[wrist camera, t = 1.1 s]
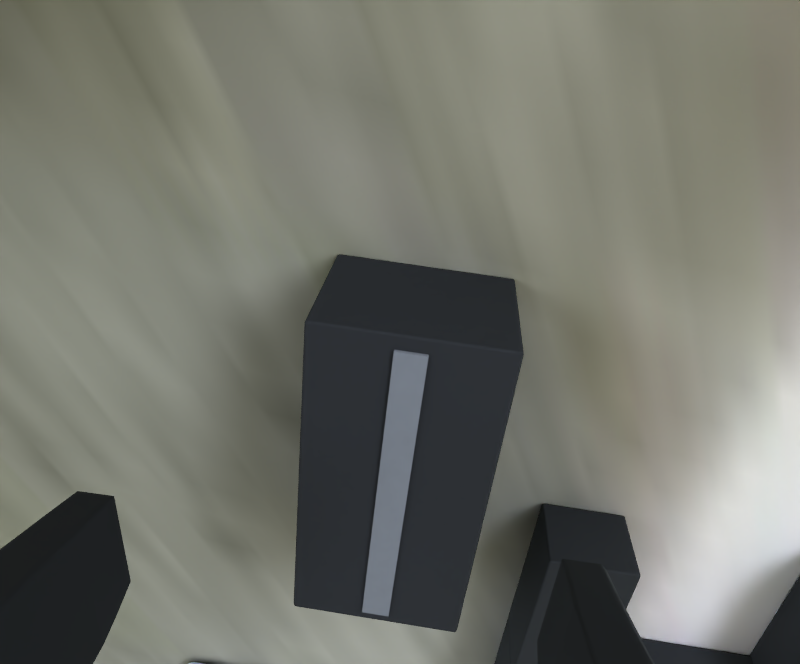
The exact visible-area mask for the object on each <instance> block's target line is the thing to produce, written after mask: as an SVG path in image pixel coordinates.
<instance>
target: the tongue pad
mask: <svg viewBox="0 0 800 664" xmlns="http://www.w3.org/2000/svg"><path fill="white" fill-rule="evenodd" d="M523 355H524V353H523V345H522V337H521V328H520V320H519V312H518V304H517V296H516V287H515V281H514V280H513V279H508V278H501V277H494V276H487V275H480V274H473V273H466V272H459V271H452V270H445V269H438V268H431V267H424V266H417V265H410V264H403V263H396V262H389V261H382V260H375V259H368V258H361V257H354V256H347V255H337V257H336V259H335V261H334V263H333V265H332V268H331V270H330V272H329V274H328V276H327V278H326V280H325V282H324V284H323V286H322V288H321V290H320V292H319V294H318V296H317V298H316V300H315V302H314V304H313V306H312V308H311V310H310V312H309V314H308V317H307V319H306V321H305V329H304V355H303V381H302V406H301V432H300V458H299V484H298V510H297V536H296V561H295V587H294V605H295V606H298V607H305V608H311V609H317V610H323V611H329V612H335V613H341V614H347V615H353V616H360V617H366V618H372V619H378V620H384V621H390V622H396V623H402V624H408V625H414V626H421V627H427V628H433V629H439V630H445V631H451V632H456V630H457V627H458V623H459V619H460V615H461V611H462V607H463V603H464V598H465V594H466V590H467V586H468V582H469V578H470V574H471V570H472V565H473V561H474V557H475V553H476V549H477V545H478V541H479V537H480V532H481V528H482V524H483V520H484V516H485V512H486V508H487V504H488V499H489V495H490V491H491V487H492V483H493V479H494V475H495V471H496V466H497V462H498V458H499V454H500V450H501V446H502V442H503V438H504V433H505V429H506V425H507V421H508V417H509V413H510V409H511V405H512V400H513V396H514V392H515V388H516V384H517V380H518V376H519V372H520V367H521V363H522V359H523Z"/></svg>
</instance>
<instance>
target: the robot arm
mask: <svg viewBox="0 0 800 664" xmlns="http://www.w3.org/2000/svg"><path fill="white" fill-rule="evenodd" d="M129 584H130V576H129V570H128V565H127V560H126V555H125V550H124V545H123V540H122V535H121V530H120V525H119V520H118V515H117V509H116V504H115V499H114V496H109V495H101V494H94V493H87V492H80V491H77V492H76V493H75V494H73V495H72V496H71V497H69V498H68V499H66V500H65V501H64V502H62V503H61V504H60V505H58V506H57V507H56V508H54V509H53V510H52V511H50V512H49V513H48V514H46V515H45V516H44V517H42V518H41V519H40V520H38V521H37V522H36V523H34V524H33V525H32V526H31V527H29V528H28V529H27V530H25V531H24V532H23V533H21V534H20V535H19V536H17V537H16V538H15V539H13V540H12V541H11V542H9V543H8V544H7V545H6V546H4V547H3V548H2V549H0V664H93V662H94V661H95V659H96V657H97V655H98V653H99V652H100V650H101V648H102V646H103V644H104V642H105V640H106V638H107V635H108V633H109V631H110V629H111V626H112V624H113V622H114V620H115V618H116V615H117V613H118V610H119V608H120V606H121V603H122V601H123V598H124V596H125V594H126V591H127V589H128V586H129ZM537 656H538V664H655V663H654V662H653V660H652V658H651V656H650V654H649V652H648V651H647V649H646V647H645V645H644V643H643V641H642V639H641V637H640V636H639V634H638V632H637V630H636V628H635V626H634V624H633V622H632V620H631V618H630V617H629V615H628V613H627V611H626V609H625V607H624V605H623V603H622V601H621V599H620V597H619V595H618V593H617V591H616V589H615V587H614V585H613V583H612V581H611V578H610V576H609V574H608V572H607V570H606V569H605V568H604V567H603V565H602V564H597V563H589V562H582V561H575V560H568V559H562V560H561V563H560V567H559V570H558V573H557V577H556V580H555V583H554V587H553V590H552V593H551V597H550V600H549V603H548V606H547V610H546V613H545V616H544V620H543V623H542V626H541V630H540V633H539V636H538V640H537ZM188 664H204V663H198V662H191V663H188Z"/></svg>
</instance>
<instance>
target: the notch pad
mask: <svg viewBox="0 0 800 664" xmlns="http://www.w3.org/2000/svg"><path fill="white" fill-rule="evenodd" d="M562 559H568V560H575V561H582V562H589V563H597V564H602V565H603V567H604V568H605V569H606V570H607V572H608V574H609V576H610V578H611V581H612V583H613V585H614V587H615V589H616V591H617V593H618V595H619V597H620V599H621V601H622V603H623V605H624V607H625V609H626V608H627V606H628V603H629V601H630V599H631V597H632V594H633V592H634V590H635V588H636V585H637V583H638V581H639V579H640V572H639V568H638V565H637V561H636V557H635V554H634V550H633V546H632V543H631V539H630V535H629V531H628V528H627V524H626V520H625V517H624V516H619V515H613V514H607V513H600V512H594V511H587V510H581V509H574V508H568V507H562V506H555V505H549V504H543V505H542V507H541V510H540V514H539V517H538V520H537V524H536V527H535V530H534V533H533V537H532V540H531V543H530V547H529V550H528V553H527V557H526V560H525V563H524V567H523V570H522V573H521V577H520V580H519V583H518V587H517V590H516V593H515V597H514V600H513V603H512V606H511V610H510V613H509V618H508V620H507V623H506V627H505V630H504V633H503V637H502V640H501V643H500V647H499V650H498V653H497V657H496V660H495V663H494V664H538V656H537V640H538V636H539V633H540V630H541V626H542V623H543V620H544V616H545V613H546V610H547V606H548V603H549V600H550V597H551V593H552V590H553V587H554V583H555V580H556V577H557V573H558V570H559V567H560V563H561V560H562ZM642 641H643V643H644V645H645V647H646V649H647V651H648V652H649V654H650V656H651V658H652V660H653V662H654V663H655V664H800V577H799V578H798V580H797V581H796V583H795V585H794V586H793V588H792V589H791V591H790V593H789V594H788V596H787V597H786V599H785V600H784V602H783V604H782V605H781V607H780V608H779V610H778V612H777V613H776V615H775V616H774V618H773V620H772V621H771V623H770V624H769V626H768V628H767V629H766V631H765V632H764V634H763V636H762V637H761V639H760V640H759V642H758V644H757V645H756V647H755V648H754V650H753V652H752V653H751V656H745V655H739V654H733V653H727V652H720V651H714V650H708V649H702V648H696V647H690V646H684V645H677V644H671V643H665V642H659V641H653V640H647V639H642Z"/></svg>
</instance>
